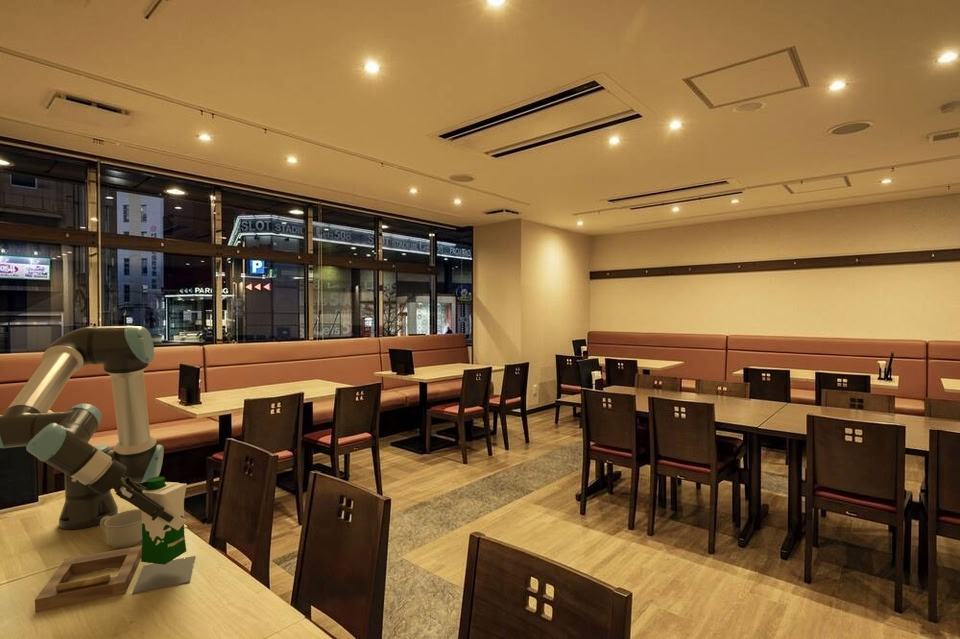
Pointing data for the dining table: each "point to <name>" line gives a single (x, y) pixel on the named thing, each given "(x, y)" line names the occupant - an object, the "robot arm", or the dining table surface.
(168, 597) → the dining table surface
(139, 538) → the teacup
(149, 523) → the soya milk
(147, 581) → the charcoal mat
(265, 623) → the dining table surface
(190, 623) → the dining table surface
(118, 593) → the frame
